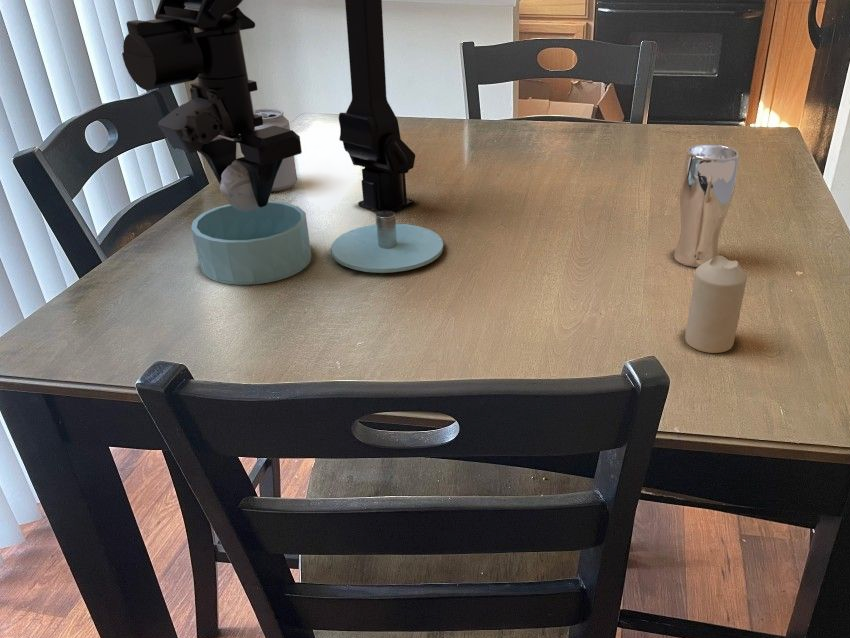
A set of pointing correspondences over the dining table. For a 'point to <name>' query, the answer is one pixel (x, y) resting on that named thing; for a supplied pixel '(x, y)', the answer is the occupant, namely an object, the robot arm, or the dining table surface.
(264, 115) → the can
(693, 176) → the beer glass
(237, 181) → the grey carved lump
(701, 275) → the candle
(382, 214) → the lid
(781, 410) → the dining table surface
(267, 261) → the pot
